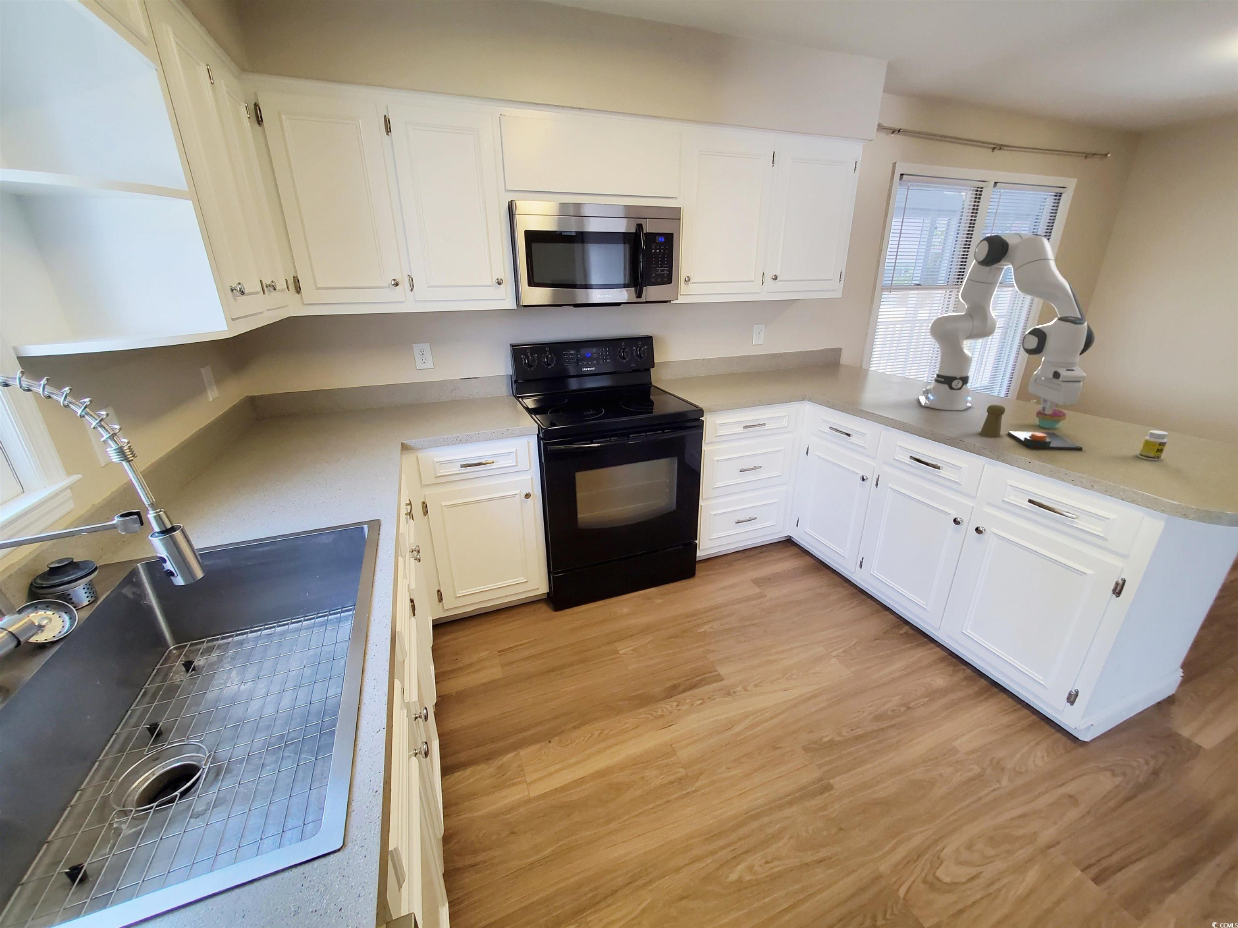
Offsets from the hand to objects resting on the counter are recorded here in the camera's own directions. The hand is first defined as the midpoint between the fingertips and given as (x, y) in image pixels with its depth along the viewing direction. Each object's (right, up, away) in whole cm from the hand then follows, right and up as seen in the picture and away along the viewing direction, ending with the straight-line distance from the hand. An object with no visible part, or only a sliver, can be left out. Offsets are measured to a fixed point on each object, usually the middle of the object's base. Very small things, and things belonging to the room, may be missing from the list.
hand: (1046, 412), depth 160 cm
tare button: (0, -8, +3) cm, 9 cm away
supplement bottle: (+25, -15, -8) cm, 30 cm away
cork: (-5, -6, +17) cm, 19 cm away
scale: (+6, -9, +8) cm, 14 cm away
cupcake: (+21, -3, +23) cm, 31 cm away
